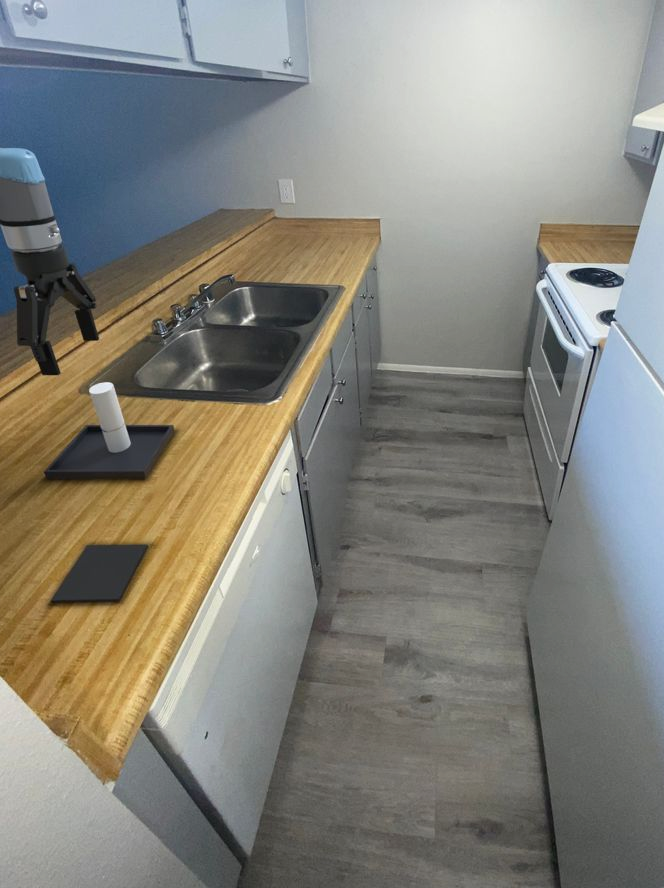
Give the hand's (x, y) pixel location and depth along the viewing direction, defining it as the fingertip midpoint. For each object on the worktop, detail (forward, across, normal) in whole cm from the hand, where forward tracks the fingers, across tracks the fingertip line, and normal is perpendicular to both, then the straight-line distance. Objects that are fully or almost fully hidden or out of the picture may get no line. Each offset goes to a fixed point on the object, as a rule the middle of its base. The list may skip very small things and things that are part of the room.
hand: (73, 356), depth 90 cm
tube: (+23, +2, -2) cm, 24 cm away
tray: (+24, 0, -2) cm, 24 cm away
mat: (+24, -30, -14) cm, 40 cm away
